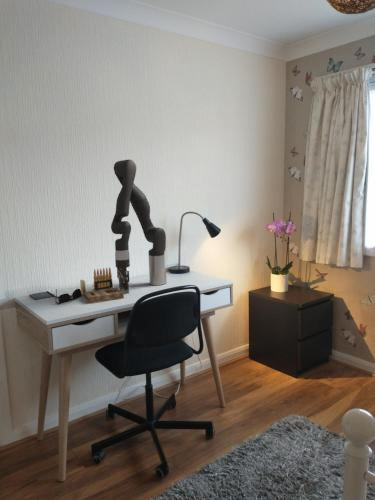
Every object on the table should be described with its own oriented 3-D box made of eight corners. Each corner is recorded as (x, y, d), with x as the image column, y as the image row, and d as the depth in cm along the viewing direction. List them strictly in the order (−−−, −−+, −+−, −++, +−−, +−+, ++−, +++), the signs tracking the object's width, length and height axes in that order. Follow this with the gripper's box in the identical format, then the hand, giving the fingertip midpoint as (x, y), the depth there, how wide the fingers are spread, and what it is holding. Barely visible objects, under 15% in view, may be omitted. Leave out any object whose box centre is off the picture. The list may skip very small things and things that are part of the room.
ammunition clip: (94, 290, 226) (93, 269, 224) (93, 290, 228) (92, 269, 226) (112, 287, 232) (111, 267, 230) (111, 287, 233) (110, 266, 231)
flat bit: (83, 294, 219) (83, 279, 218) (85, 296, 215) (84, 281, 214) (81, 294, 219) (80, 280, 217) (82, 296, 215) (82, 281, 213)
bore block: (117, 293, 220) (116, 287, 219) (123, 298, 209) (123, 292, 209) (83, 297, 212) (83, 292, 212) (88, 303, 201) (88, 297, 201)
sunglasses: (63, 294, 222) (62, 285, 221) (83, 296, 215) (83, 287, 214) (39, 302, 207) (38, 292, 206) (60, 305, 200) (59, 295, 199)
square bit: (126, 291, 222) (126, 277, 221) (129, 293, 219) (128, 278, 218) (119, 292, 221) (119, 278, 219) (121, 294, 217) (121, 279, 216)
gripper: (133, 259, 212) (134, 289, 215) (125, 255, 225) (126, 284, 227) (119, 261, 209) (120, 291, 211) (111, 257, 221) (113, 285, 224)
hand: (123, 287), depth 219 cm, fingers open, 8 cm apart
